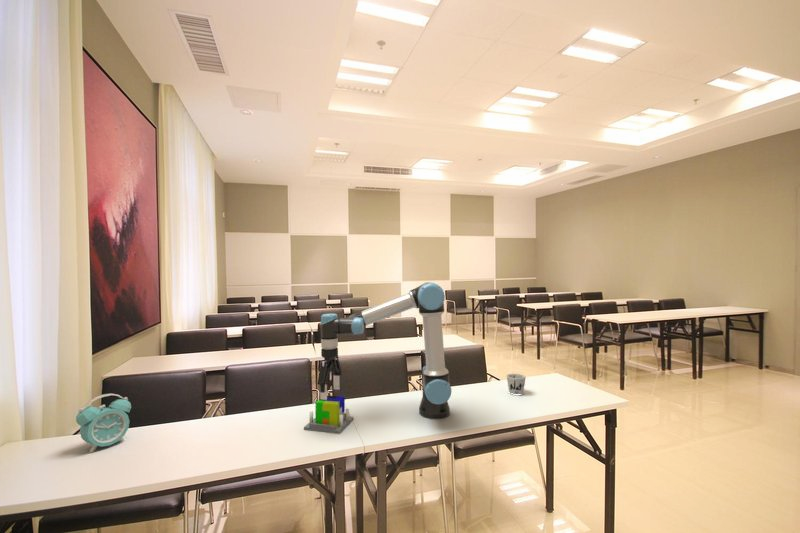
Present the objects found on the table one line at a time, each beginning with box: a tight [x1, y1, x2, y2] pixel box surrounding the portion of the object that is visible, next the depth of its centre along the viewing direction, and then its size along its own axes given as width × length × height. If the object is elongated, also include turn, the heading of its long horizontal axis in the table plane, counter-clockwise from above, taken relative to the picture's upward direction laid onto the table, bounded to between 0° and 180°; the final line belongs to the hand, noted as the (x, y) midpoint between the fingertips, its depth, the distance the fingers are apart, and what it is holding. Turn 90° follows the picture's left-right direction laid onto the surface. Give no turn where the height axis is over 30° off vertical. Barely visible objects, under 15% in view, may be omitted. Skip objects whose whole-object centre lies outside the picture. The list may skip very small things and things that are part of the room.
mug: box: [506, 373, 527, 395], centre depth 209 cm, size 10×15×10 cm
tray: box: [303, 408, 354, 435], centre depth 165 cm, size 17×16×6 cm
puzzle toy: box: [314, 395, 346, 427], centre depth 165 cm, size 10×10×10 cm
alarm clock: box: [75, 393, 132, 453], centre depth 145 cm, size 17×10×20 cm, turn 148°
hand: (330, 394), depth 165 cm, fingers open, 13 cm apart
